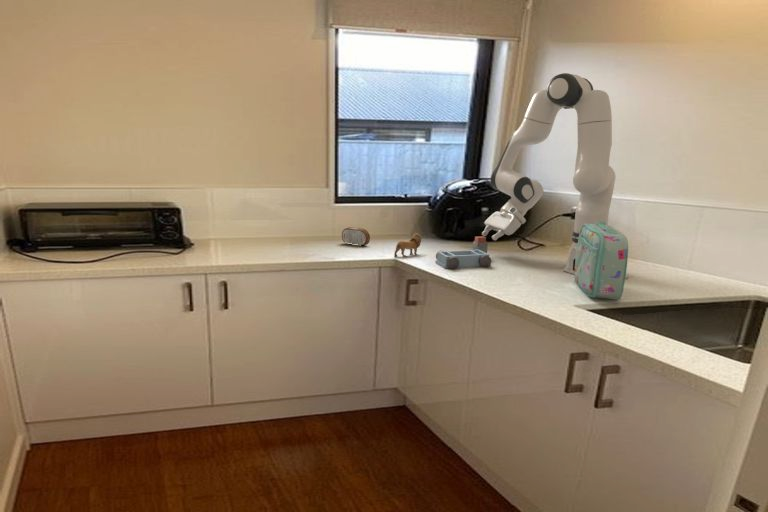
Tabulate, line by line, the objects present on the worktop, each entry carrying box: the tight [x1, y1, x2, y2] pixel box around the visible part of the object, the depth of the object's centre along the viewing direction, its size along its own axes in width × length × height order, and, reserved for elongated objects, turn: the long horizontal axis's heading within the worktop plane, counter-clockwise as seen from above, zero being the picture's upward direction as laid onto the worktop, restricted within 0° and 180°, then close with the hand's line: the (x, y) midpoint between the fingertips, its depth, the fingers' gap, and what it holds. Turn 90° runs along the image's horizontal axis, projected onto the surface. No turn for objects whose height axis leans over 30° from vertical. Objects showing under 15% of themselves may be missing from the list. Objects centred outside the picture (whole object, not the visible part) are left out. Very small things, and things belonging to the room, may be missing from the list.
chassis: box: [435, 248, 492, 270], centre depth 186 cm, size 14×19×4 cm
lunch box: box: [573, 221, 629, 301], centre depth 147 cm, size 27×10×21 cm, turn 171°
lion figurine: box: [393, 233, 422, 258], centre depth 202 cm, size 15×5×9 cm, turn 130°
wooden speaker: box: [341, 226, 371, 246], centre depth 226 cm, size 15×3×8 cm, turn 58°
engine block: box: [472, 235, 489, 254], centre depth 196 cm, size 4×4×9 cm
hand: (488, 237), depth 196 cm, fingers open, 8 cm apart
